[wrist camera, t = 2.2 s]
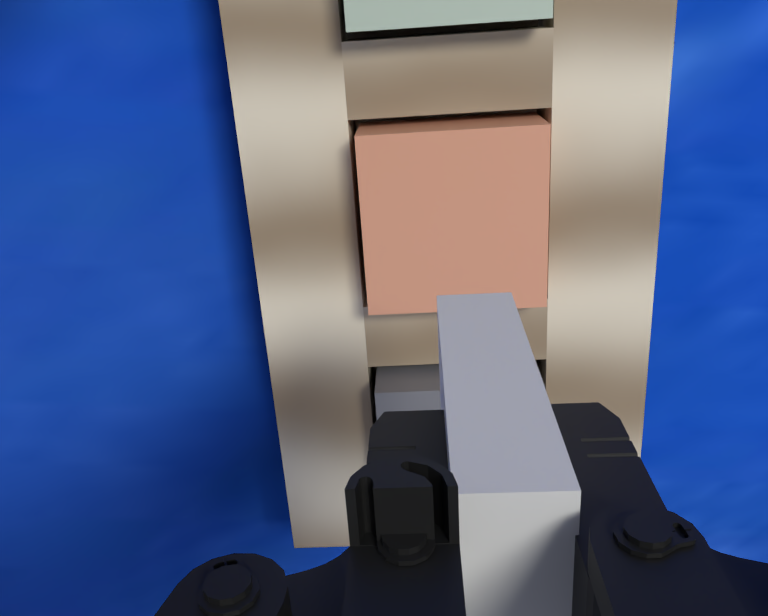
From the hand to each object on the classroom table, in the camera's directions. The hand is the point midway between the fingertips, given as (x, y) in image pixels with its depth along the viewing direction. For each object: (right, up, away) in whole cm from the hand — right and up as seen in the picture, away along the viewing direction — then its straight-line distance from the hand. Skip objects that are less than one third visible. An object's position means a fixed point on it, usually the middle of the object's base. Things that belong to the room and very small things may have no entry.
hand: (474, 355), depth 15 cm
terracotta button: (0, +5, +11) cm, 12 cm away
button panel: (+1, +6, +13) cm, 15 cm away
